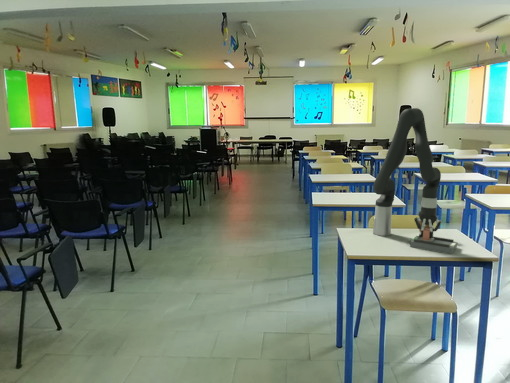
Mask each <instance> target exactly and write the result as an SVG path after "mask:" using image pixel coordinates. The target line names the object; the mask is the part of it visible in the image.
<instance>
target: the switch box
mask: <svg viewBox="0 0 510 383" xmlns="http://www.w3.org/2000/svg"><path fill="white" fill-rule="evenodd" d="M421 237H422V236H421V235H420V234H418V235H416V236H414V238H412V239H411V240H410V245H409V247H410V248H415V249H421V250H426V251H430V252H432V251H433V252H438V253H442V254H443V253H444V254H449V255H452V254H453V253H454V252H455V251H456V250H457V245H458V242H457V241H454V239H452V238H445V237H441V236H440V237H438V236H433V237H432V238H434V240H433V241H432V242H430V241H424V240H419V239H420V238H421Z"/></svg>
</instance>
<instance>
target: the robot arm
mask: <svg viewBox="0 0 510 383" xmlns="http://www.w3.org/2000/svg"><path fill="white" fill-rule="evenodd" d="M397 121H398V122H397V125H396V129H395V133H394V134H393V137H392V141H391V143H390V145H389V147H388V149H387V153H386V156H385V159H384V161H383V163H382V165H381V167H380V170H379V172H378V174H377V176H376V178H375V180H374V182H373V184H372V185H373V186H372V188H373V192H374V193H375V194H376V195H380V196H379V198H377V199H375V209H374V210H375V212H374V217H373V224H372V226H373V228H372V229H373V230H372V234H373V233H374V235H376V236H382V237H389V236H391V233H392V220H393V219H392V216H393V215H392V214H393V213H392V212H393V202H394V200H395V194H396V184H395V181H394V179H393V178H391V176H392V174H393V173H394V172H395V171H396V170H397V169H398V168H399V167H400V165H401V164H402V163H403V162H404V159H405V156H406V154H407V152H408V135H409V133H410V131H411V128H412V129H413V131H414V136H415V141H414V143H415V145H414V147H415V153H416V156H417V160H418V163H419V174H420V177H421V179H422V180H423V181H424V182H425V185H423V187H422V195H421V196H422V197H421V201H420V202H421V204H420V211H421V215H420V217H419V216H418V217H415V218H414V222H415V226H416V227H417V229H418V230H419V229H420V230H421V236H422V237H423V230H424V229H425V226H426V225H429V227H430V236H429V238H430V239H431V238H432V237H434V232H437V231H438V229H439V228H440V226H441V224H442V223H443V221H442V220H439V219H438V217H437V209H438V189H439V186H440V183H441V177H442V174H441V171H440V169H439V168H438V167H433V161H434V155H433V152H432V149H431V146H430V143H429V139H428V134H427V128H426V123H425V122H426V121H425V115H424V112H423V110H422V109H420V108H416V107H415V108H413V107H412V108H406V109H404V110H403V111H402V112H401V113H400V115H399V117H398V120H397ZM420 220H421V221H422V227H421V225H420V222H419V221H420ZM435 223H436V226H435V227H434V224H435Z"/></svg>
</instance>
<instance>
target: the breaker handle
mask: <svg viewBox="0 0 510 383" xmlns="http://www.w3.org/2000/svg"><path fill="white" fill-rule="evenodd" d="M429 236H430V229H427V228H425V229H424V230H423V237H421V238H420V239H419V240H424V241H430V242H432V241H433V240H434V238H431V239H430V238H429Z"/></svg>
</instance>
